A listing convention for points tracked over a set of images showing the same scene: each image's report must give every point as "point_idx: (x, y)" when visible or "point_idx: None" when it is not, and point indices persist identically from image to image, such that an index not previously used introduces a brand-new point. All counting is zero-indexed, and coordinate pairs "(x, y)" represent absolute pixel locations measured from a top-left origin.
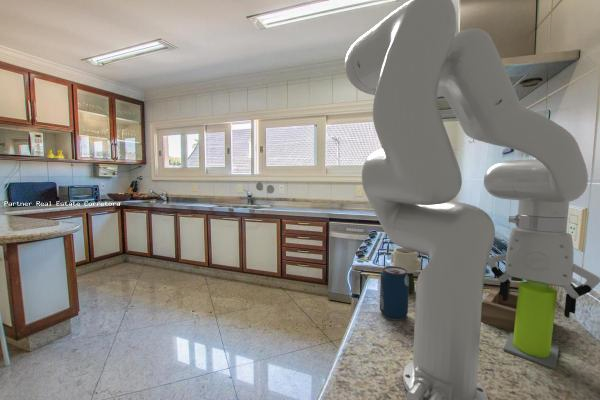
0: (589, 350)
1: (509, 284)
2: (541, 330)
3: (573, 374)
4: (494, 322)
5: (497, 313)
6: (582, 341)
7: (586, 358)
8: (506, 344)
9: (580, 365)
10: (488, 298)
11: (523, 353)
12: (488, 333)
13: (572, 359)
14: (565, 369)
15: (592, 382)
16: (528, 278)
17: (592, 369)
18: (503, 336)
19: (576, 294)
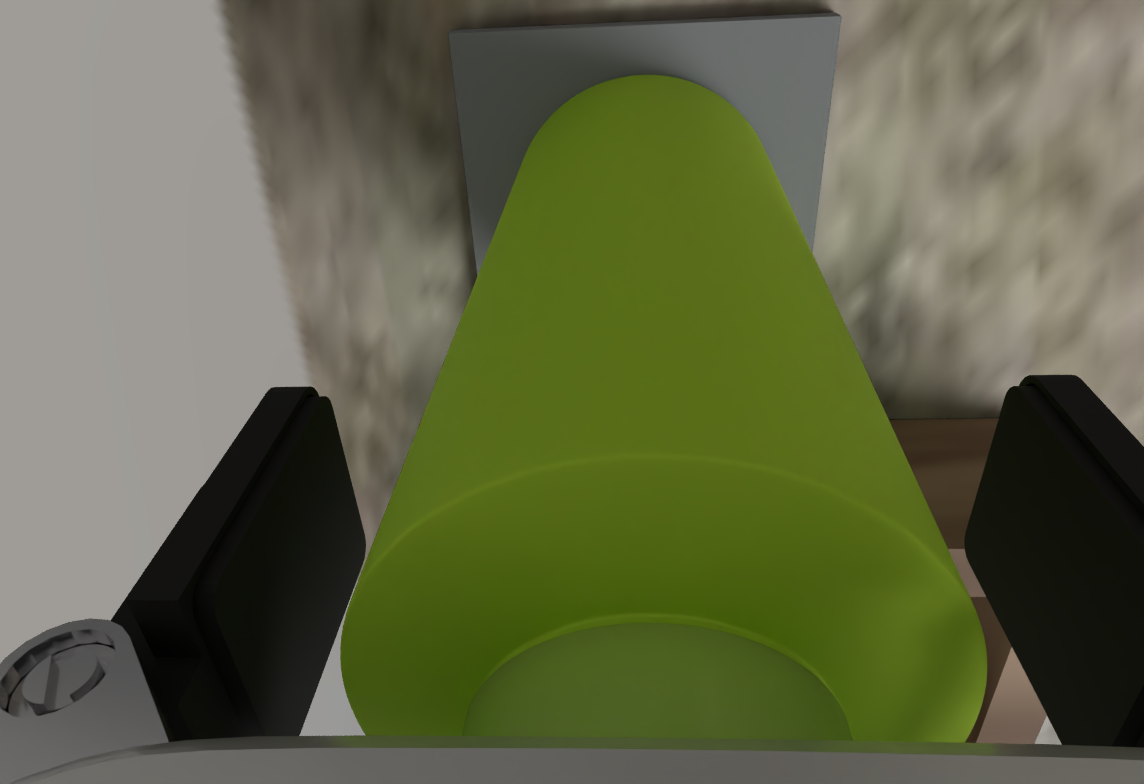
0: (362, 503)
1: (1077, 697)
2: (552, 176)
3: (351, 70)
4: (926, 437)
5: (939, 495)
6: None
7: (349, 388)
8: (819, 116)
9: (351, 258)
10: None
11: (682, 65)
12: (961, 248)
13: (404, 306)
14: (405, 105)
15: (241, 57)
16: (904, 778)
17: (290, 262)
18: (843, 290)
19: (31, 706)
